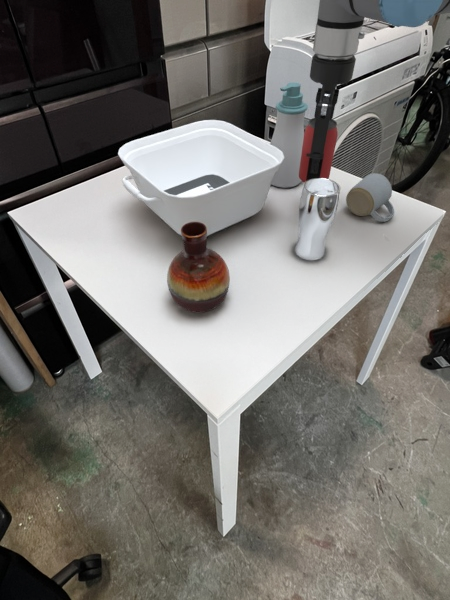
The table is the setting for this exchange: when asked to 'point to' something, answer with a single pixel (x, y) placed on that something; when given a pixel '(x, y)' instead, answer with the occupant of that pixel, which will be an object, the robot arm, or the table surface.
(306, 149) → the beer can
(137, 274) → the table surface
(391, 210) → the ceramic mug
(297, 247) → the beer glass
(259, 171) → the white wash basin
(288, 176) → the soap bottle
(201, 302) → the vase
